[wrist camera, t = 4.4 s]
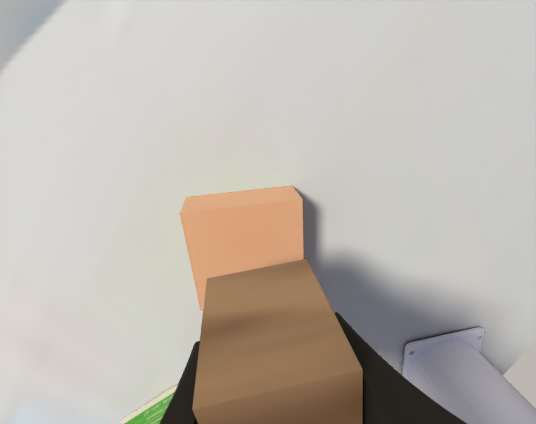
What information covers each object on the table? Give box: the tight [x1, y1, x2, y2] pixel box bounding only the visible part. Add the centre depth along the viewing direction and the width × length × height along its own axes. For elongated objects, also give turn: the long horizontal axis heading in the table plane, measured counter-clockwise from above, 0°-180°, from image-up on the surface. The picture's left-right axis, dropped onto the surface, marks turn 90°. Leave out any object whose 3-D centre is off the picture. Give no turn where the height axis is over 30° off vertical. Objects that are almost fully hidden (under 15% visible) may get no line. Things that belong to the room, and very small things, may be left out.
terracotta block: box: [180, 186, 304, 310], centre depth 18 cm, size 7×7×3 cm
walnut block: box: [192, 259, 363, 424], centre depth 10 cm, size 4×4×6 cm
